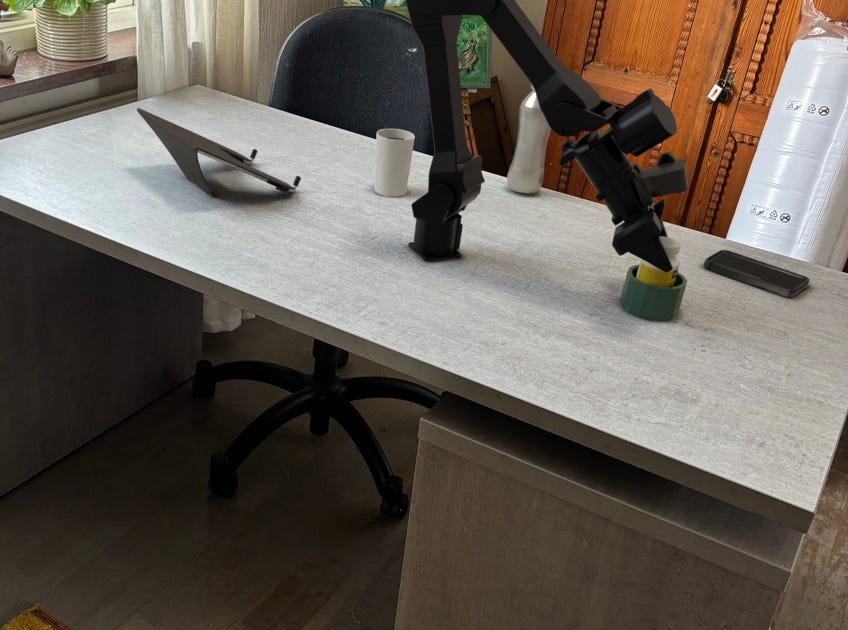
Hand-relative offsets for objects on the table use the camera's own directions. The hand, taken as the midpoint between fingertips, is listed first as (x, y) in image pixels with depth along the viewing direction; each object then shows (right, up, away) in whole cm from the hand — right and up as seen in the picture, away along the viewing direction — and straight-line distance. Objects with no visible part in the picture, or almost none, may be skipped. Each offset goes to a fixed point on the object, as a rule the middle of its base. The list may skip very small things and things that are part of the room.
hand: (670, 263), depth 138 cm
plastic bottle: (-14, +22, +42) cm, 50 cm away
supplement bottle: (-2, -5, +4) cm, 7 cm away
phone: (+19, +1, +17) cm, 26 cm away
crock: (-2, -6, +4) cm, 7 cm away
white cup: (-39, +21, +37) cm, 57 cm away
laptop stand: (-68, +21, +32) cm, 78 cm away
